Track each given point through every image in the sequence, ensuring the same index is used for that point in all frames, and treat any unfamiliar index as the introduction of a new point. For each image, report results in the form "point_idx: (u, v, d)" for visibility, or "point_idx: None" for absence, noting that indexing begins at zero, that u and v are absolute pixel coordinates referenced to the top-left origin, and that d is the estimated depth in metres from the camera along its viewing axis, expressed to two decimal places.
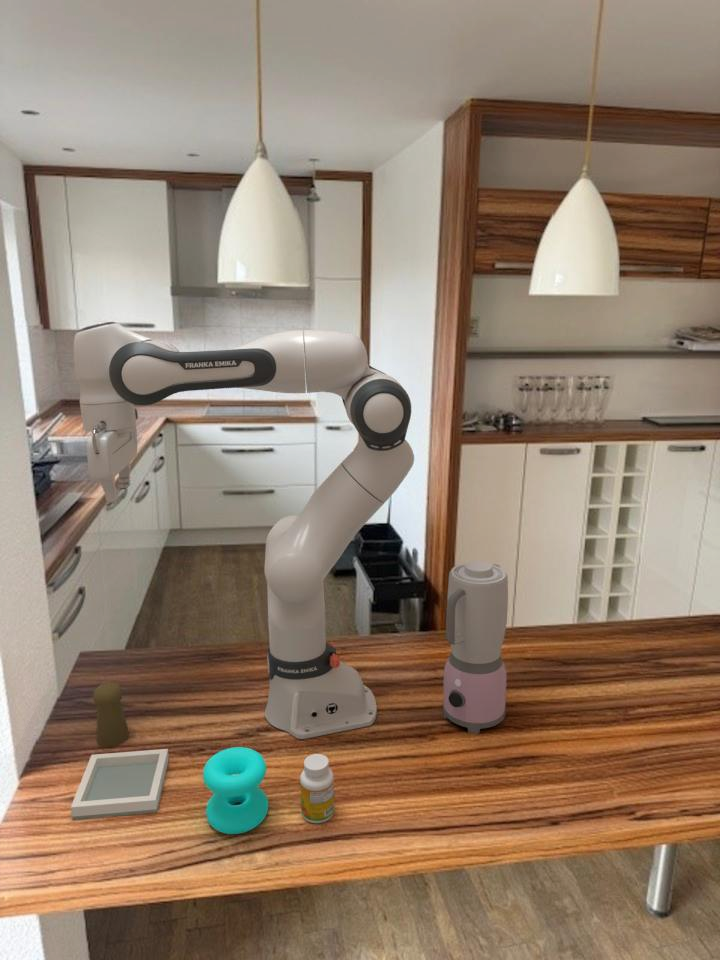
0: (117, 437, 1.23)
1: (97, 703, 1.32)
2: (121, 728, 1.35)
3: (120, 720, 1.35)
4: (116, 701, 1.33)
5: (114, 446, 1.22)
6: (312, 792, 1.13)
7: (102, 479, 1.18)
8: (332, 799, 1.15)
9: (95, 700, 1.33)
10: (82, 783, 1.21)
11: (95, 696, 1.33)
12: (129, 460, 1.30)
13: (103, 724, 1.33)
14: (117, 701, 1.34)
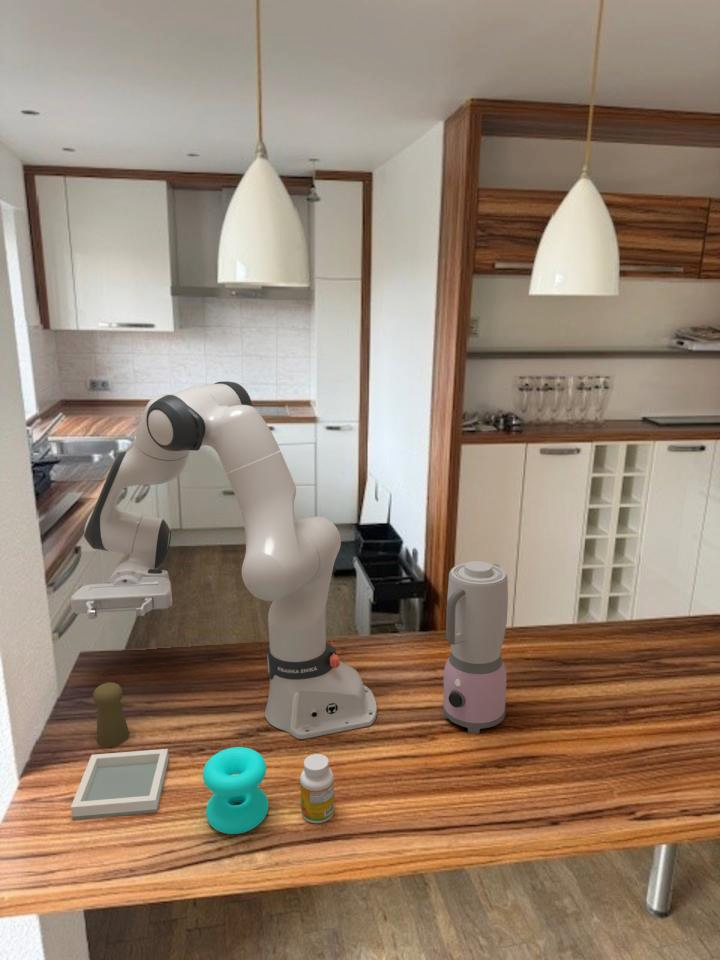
0: (110, 584, 1.53)
1: (97, 703, 1.32)
2: (121, 728, 1.35)
3: (120, 720, 1.35)
4: (116, 701, 1.33)
5: (102, 588, 1.51)
6: (312, 792, 1.13)
7: (72, 604, 1.47)
8: (332, 799, 1.15)
9: (95, 700, 1.33)
10: (82, 783, 1.21)
11: (95, 696, 1.33)
12: (135, 593, 1.48)
13: (103, 724, 1.33)
14: (117, 701, 1.34)
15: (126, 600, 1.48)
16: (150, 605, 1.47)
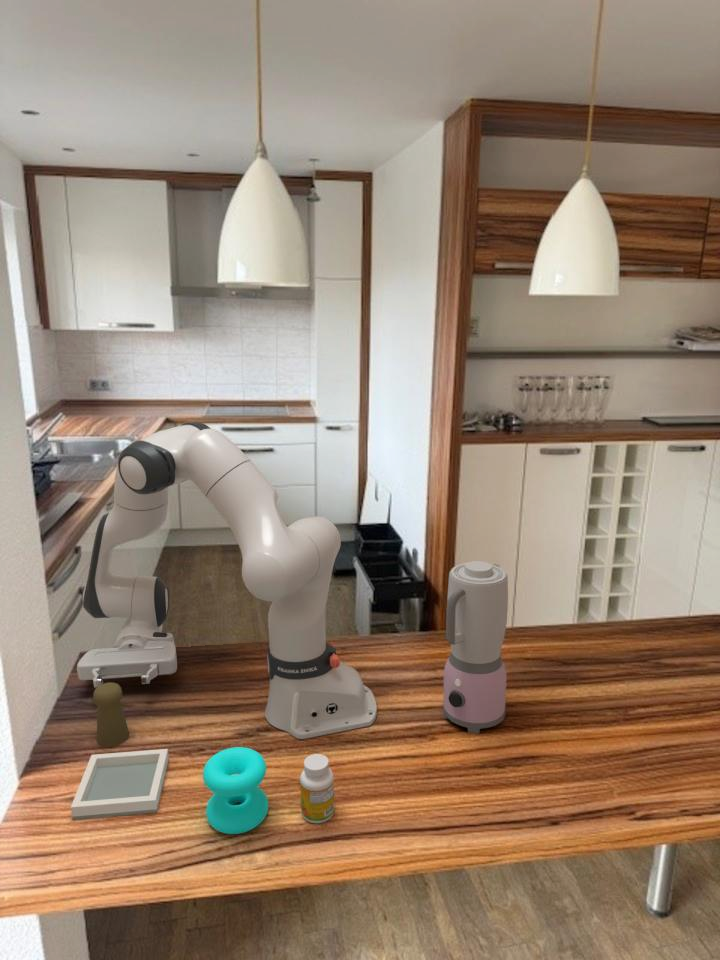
0: (116, 649, 1.54)
1: (97, 703, 1.32)
2: (121, 728, 1.35)
3: (120, 720, 1.35)
4: (116, 701, 1.33)
5: (108, 653, 1.53)
6: (312, 792, 1.13)
7: (78, 671, 1.49)
8: (332, 799, 1.15)
9: (95, 700, 1.33)
10: (82, 783, 1.21)
11: (95, 696, 1.33)
12: (140, 660, 1.50)
13: (103, 724, 1.33)
14: (117, 701, 1.34)
15: (132, 666, 1.50)
16: (155, 671, 1.48)
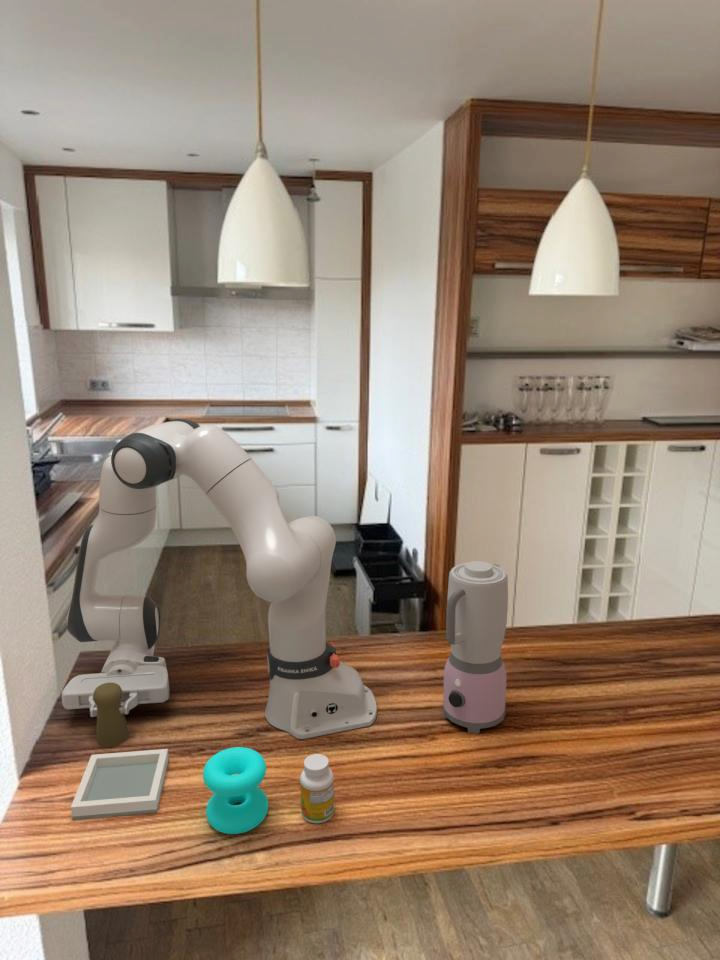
0: (104, 675, 1.44)
1: (97, 703, 1.32)
2: (121, 728, 1.35)
3: (120, 720, 1.35)
4: (116, 701, 1.33)
5: (95, 680, 1.43)
6: (312, 792, 1.13)
7: (62, 700, 1.38)
8: (332, 799, 1.15)
9: (95, 700, 1.33)
10: (82, 783, 1.21)
11: (95, 696, 1.33)
12: (130, 687, 1.39)
13: (103, 724, 1.33)
14: (117, 701, 1.33)
15: None
16: (135, 701, 1.38)
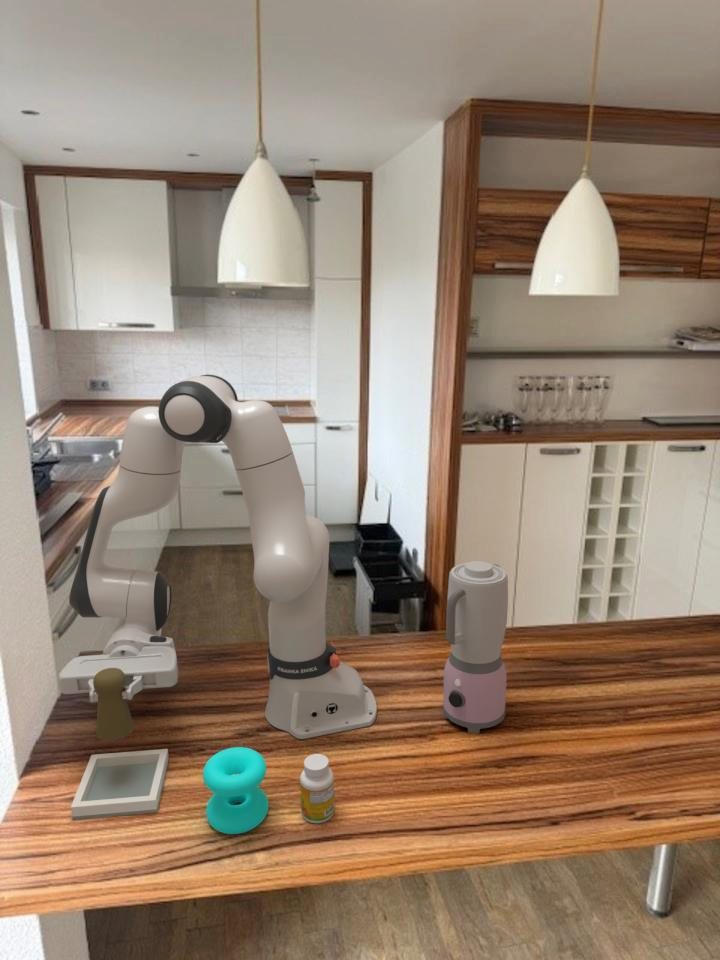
0: (106, 656, 1.30)
1: (98, 690, 1.18)
2: (125, 718, 1.21)
3: (123, 710, 1.21)
4: (120, 688, 1.19)
5: (95, 662, 1.29)
6: (312, 792, 1.13)
7: (59, 684, 1.24)
8: (332, 799, 1.15)
9: (96, 687, 1.18)
10: (82, 783, 1.21)
11: (96, 682, 1.18)
12: (134, 669, 1.25)
13: (105, 714, 1.19)
14: (121, 687, 1.20)
15: None
16: (139, 685, 1.24)
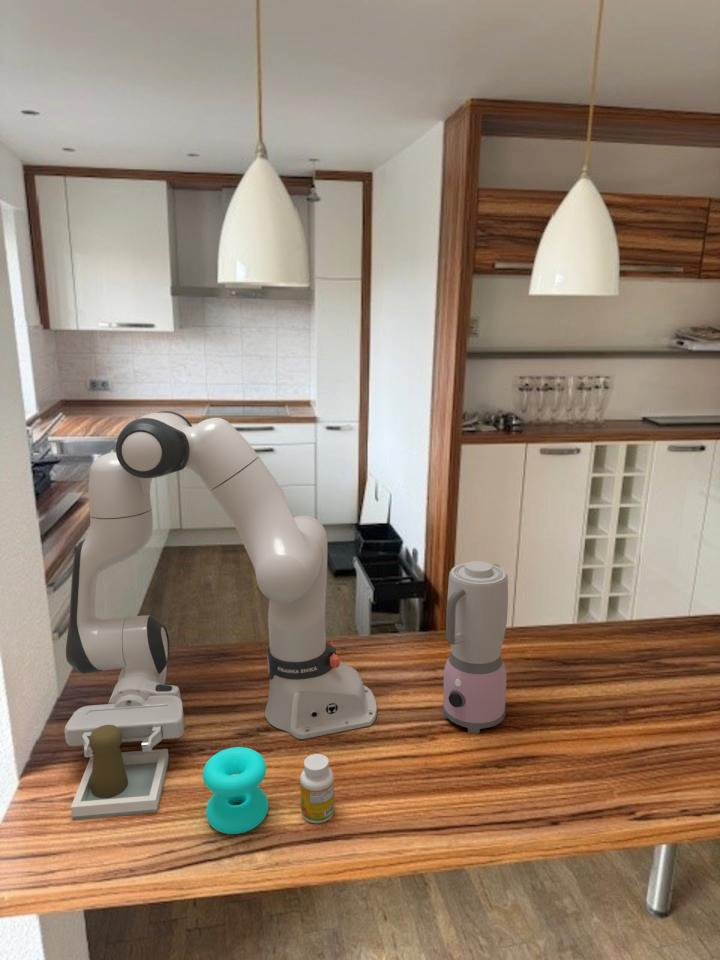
0: (112, 706, 1.30)
1: (95, 749, 1.18)
2: (121, 775, 1.21)
3: (119, 767, 1.21)
4: (116, 746, 1.19)
5: (101, 712, 1.28)
6: (312, 792, 1.13)
7: (66, 736, 1.24)
8: (332, 799, 1.15)
9: (93, 746, 1.18)
10: (82, 783, 1.21)
11: (93, 742, 1.18)
12: (141, 721, 1.25)
13: (101, 772, 1.19)
14: (117, 746, 1.20)
15: (130, 729, 1.25)
16: (159, 736, 1.24)
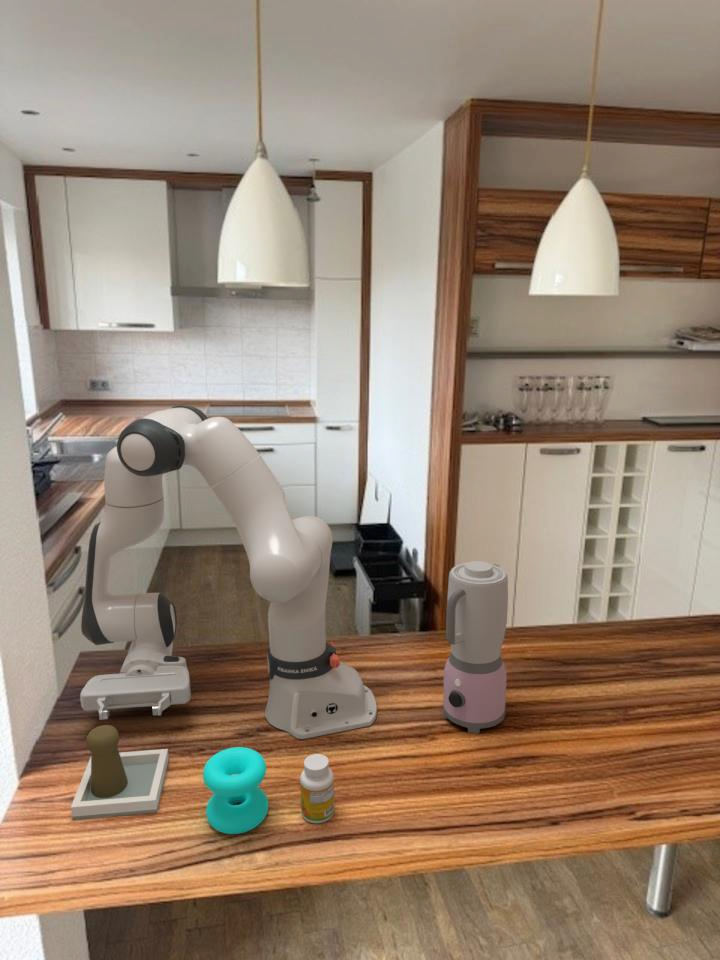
0: (123, 675, 1.40)
1: (92, 750, 1.18)
2: (120, 775, 1.21)
3: (118, 767, 1.21)
4: (113, 746, 1.19)
5: (114, 680, 1.38)
6: (312, 792, 1.13)
7: (81, 701, 1.34)
8: (332, 799, 1.15)
9: (89, 747, 1.18)
10: (82, 783, 1.21)
11: (89, 742, 1.18)
12: (151, 688, 1.35)
13: (99, 773, 1.19)
14: (114, 746, 1.19)
15: (141, 695, 1.35)
16: (167, 701, 1.34)
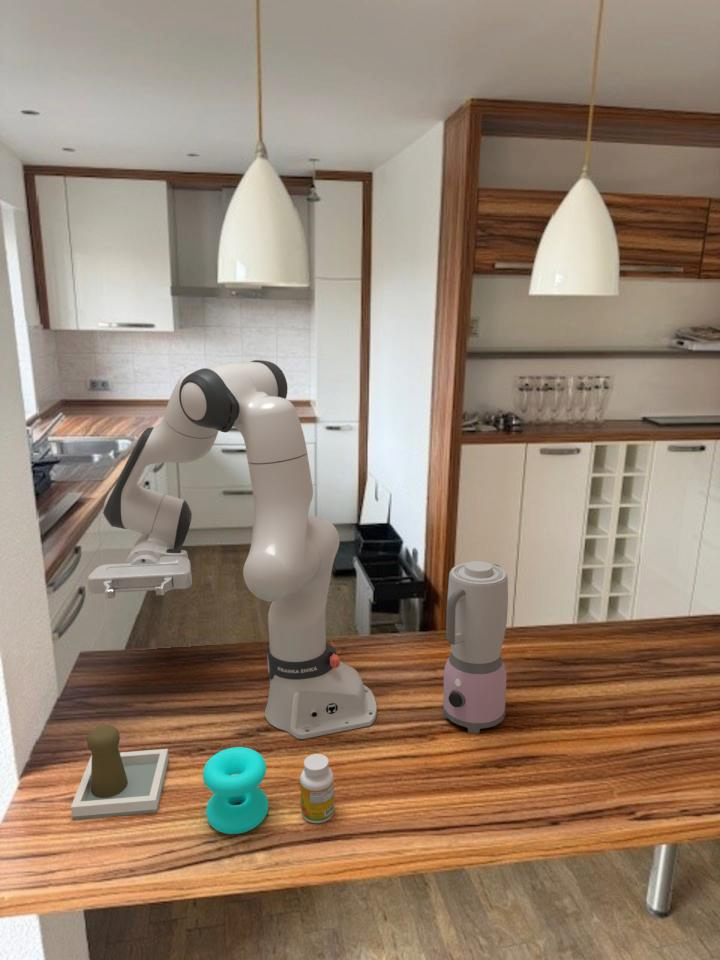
0: (128, 564, 1.48)
1: (93, 750, 1.18)
2: (120, 775, 1.21)
3: (118, 767, 1.21)
4: (114, 746, 1.19)
5: (119, 568, 1.47)
6: (312, 792, 1.13)
7: (89, 584, 1.42)
8: (332, 799, 1.15)
9: (90, 746, 1.18)
10: (82, 783, 1.21)
11: (90, 742, 1.18)
12: (154, 573, 1.43)
13: (100, 773, 1.19)
14: (115, 746, 1.20)
15: (145, 580, 1.43)
16: (170, 584, 1.42)
